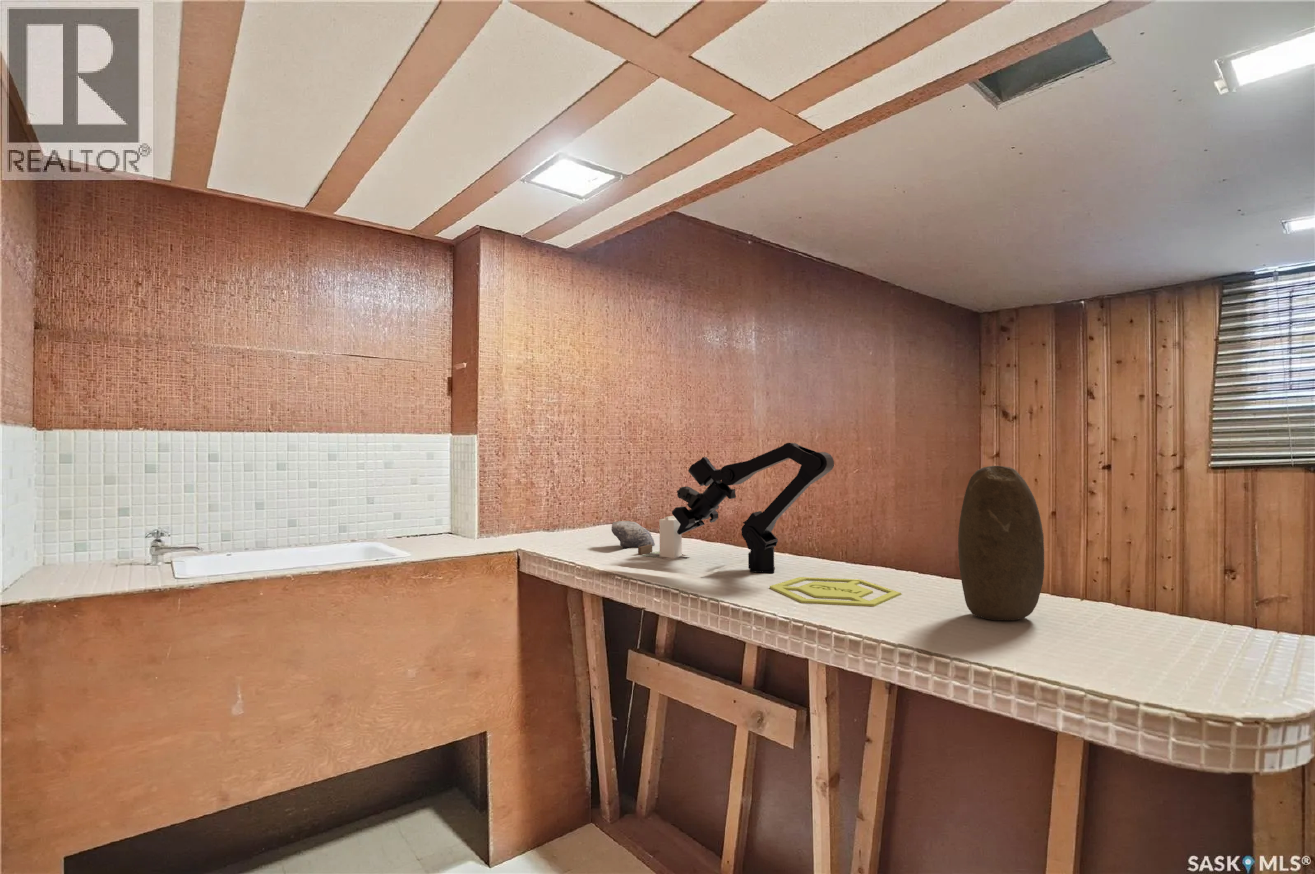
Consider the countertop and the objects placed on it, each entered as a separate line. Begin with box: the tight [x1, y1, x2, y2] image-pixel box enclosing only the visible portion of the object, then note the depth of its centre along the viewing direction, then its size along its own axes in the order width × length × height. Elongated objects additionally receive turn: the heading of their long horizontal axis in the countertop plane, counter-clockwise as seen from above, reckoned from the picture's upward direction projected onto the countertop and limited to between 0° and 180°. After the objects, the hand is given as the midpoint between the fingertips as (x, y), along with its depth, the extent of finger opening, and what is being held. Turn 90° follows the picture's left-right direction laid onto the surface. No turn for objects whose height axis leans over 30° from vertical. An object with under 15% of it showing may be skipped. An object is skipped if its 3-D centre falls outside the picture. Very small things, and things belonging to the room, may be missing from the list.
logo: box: [769, 576, 903, 608], centre depth 148 cm, size 26×1×30 cm
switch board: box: [637, 545, 691, 561], centre depth 190 cm, size 17×10×4 cm, turn 57°
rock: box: [611, 520, 656, 550], centre depth 212 cm, size 11×17×10 cm, turn 39°
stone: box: [957, 465, 1045, 621], centre depth 125 cm, size 13×15×30 cm
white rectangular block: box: [659, 515, 683, 559], centre depth 189 cm, size 5×4×12 cm
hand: (678, 533), depth 187 cm, fingers closed, pressing on white rectangular block
